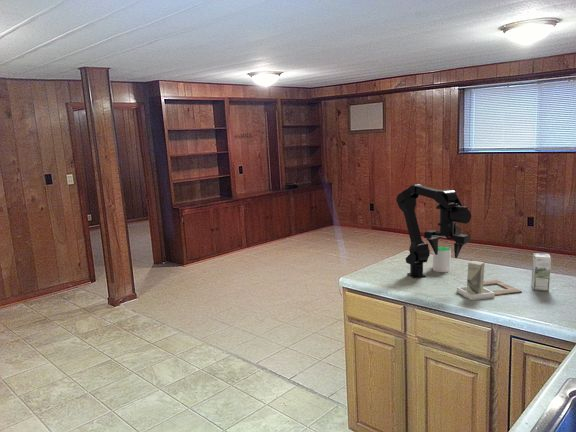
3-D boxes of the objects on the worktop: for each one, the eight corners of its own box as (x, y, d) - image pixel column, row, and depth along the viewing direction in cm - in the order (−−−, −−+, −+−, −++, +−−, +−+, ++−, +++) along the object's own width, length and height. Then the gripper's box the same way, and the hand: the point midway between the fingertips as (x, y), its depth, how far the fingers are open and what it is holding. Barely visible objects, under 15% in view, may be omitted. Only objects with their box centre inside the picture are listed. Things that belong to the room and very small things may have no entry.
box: (466, 293, 187) (467, 262, 185) (471, 290, 190) (472, 260, 188) (479, 296, 183) (480, 264, 181) (483, 293, 186) (485, 262, 184)
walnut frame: (467, 284, 200) (467, 282, 200) (496, 281, 203) (496, 279, 202) (490, 296, 185) (490, 294, 184) (521, 292, 187) (521, 291, 187)
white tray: (456, 292, 190) (456, 287, 190) (479, 289, 192) (479, 284, 192) (470, 300, 181) (471, 295, 180) (494, 297, 182) (494, 292, 182)
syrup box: (546, 287, 193) (548, 253, 190) (549, 291, 187) (551, 256, 185) (531, 286, 195) (532, 252, 192) (533, 290, 189) (535, 256, 187)
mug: (428, 265, 231) (429, 245, 229) (445, 265, 230) (445, 244, 228) (435, 272, 219) (435, 251, 217) (452, 272, 218) (453, 250, 217)
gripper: (477, 219, 193) (476, 256, 195) (437, 215, 207) (436, 249, 209) (463, 223, 185) (463, 261, 188) (423, 219, 199) (422, 254, 202)
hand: (446, 256), depth 197 cm, fingers open, 9 cm apart
